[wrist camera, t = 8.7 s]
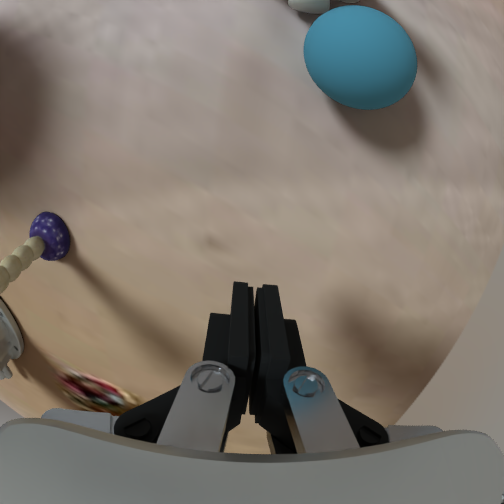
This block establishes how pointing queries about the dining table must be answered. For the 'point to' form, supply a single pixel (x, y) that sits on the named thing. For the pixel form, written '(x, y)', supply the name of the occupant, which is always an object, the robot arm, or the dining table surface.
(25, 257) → the toy lamp
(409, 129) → the dining table surface
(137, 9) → the dining table surface
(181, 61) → the dining table surface
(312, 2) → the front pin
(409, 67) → the ball
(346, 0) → the pin
